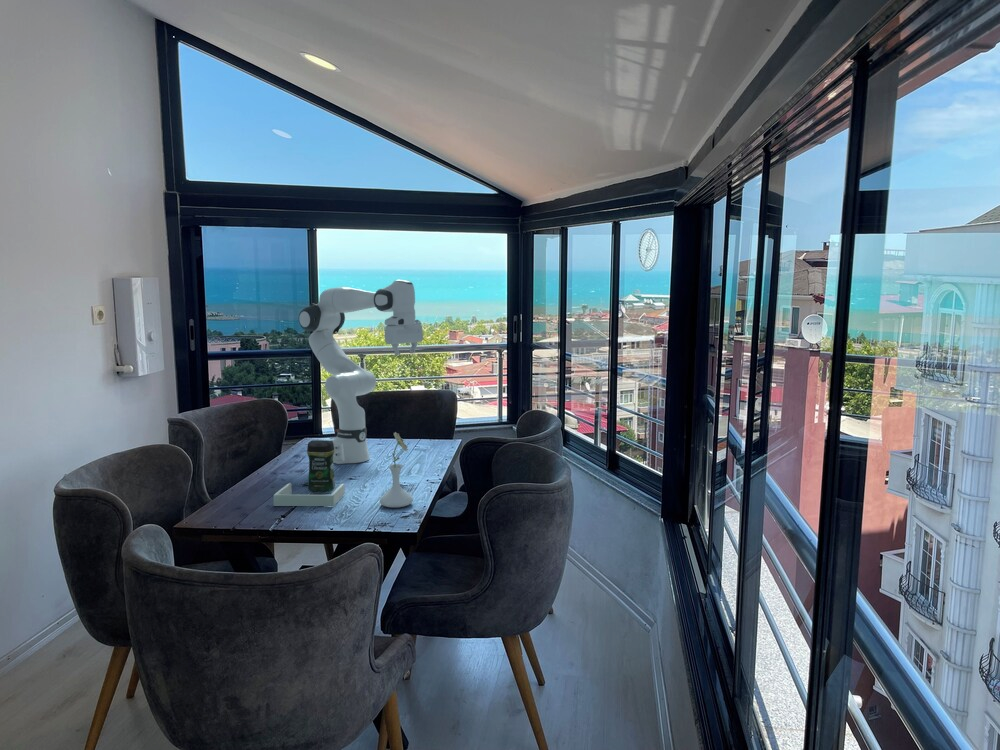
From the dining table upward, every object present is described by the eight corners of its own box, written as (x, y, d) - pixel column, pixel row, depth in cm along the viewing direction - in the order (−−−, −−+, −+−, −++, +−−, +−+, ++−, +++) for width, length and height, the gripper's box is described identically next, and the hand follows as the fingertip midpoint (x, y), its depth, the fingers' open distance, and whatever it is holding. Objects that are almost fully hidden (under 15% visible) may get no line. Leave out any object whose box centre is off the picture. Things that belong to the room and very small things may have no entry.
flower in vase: (412, 510, 219) (411, 436, 216) (377, 511, 218) (376, 437, 215) (414, 498, 232) (413, 429, 229) (381, 499, 231) (380, 429, 228)
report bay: (288, 493, 237) (288, 483, 237) (344, 494, 236) (344, 483, 236) (273, 506, 223) (273, 495, 222) (333, 507, 222) (332, 495, 221)
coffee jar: (305, 492, 239) (303, 442, 237) (312, 486, 247) (310, 438, 245) (331, 492, 238) (330, 442, 236) (337, 486, 246) (336, 438, 244)
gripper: (414, 319, 274) (415, 352, 276) (381, 320, 257) (382, 355, 259) (426, 319, 271) (427, 352, 273) (393, 321, 254) (394, 356, 255)
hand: (405, 354), depth 266 cm, fingers open, 8 cm apart
